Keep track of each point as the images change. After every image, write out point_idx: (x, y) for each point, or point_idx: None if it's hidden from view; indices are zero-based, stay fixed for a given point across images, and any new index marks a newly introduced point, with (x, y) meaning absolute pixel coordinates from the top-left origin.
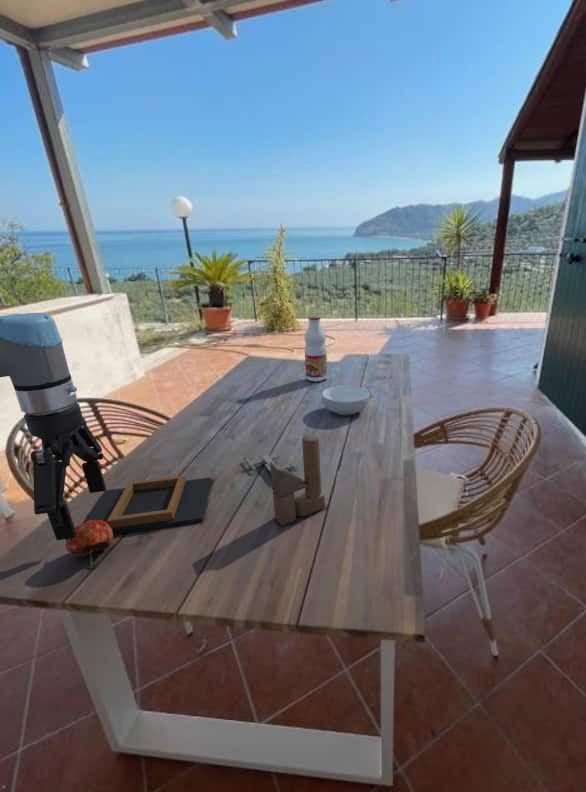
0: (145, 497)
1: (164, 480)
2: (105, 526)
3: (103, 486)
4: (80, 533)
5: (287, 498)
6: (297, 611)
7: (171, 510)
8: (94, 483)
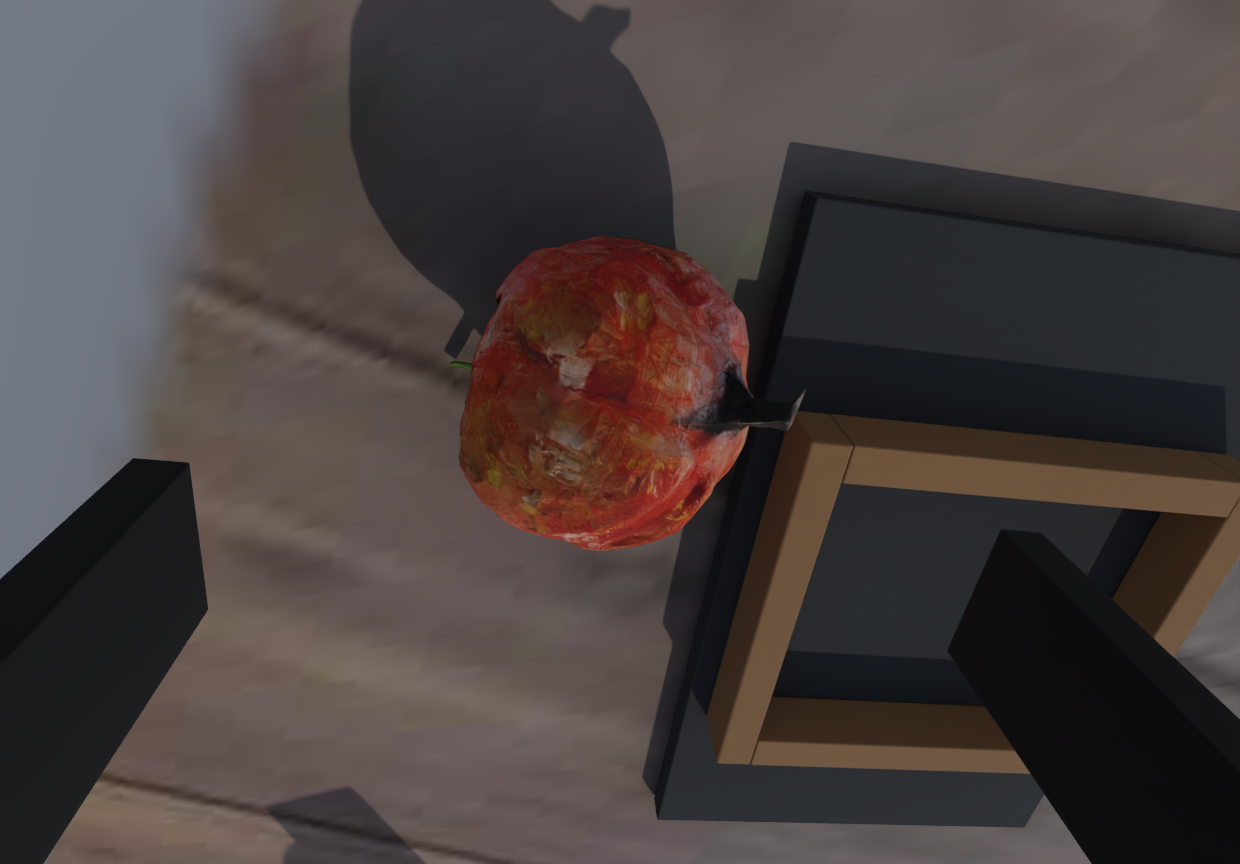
0: None
1: None
2: (611, 545)
3: (980, 694)
4: (517, 436)
5: None
6: None
7: (732, 762)
8: (1042, 677)
